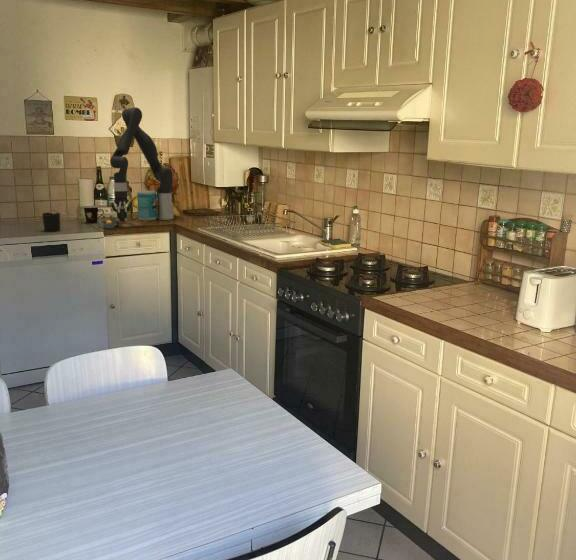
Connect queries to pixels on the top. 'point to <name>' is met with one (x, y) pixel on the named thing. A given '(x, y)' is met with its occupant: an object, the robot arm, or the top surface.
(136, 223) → the rail
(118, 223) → the striker
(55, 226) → the pen holder
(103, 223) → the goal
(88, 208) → the coffee mug
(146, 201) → the food can
